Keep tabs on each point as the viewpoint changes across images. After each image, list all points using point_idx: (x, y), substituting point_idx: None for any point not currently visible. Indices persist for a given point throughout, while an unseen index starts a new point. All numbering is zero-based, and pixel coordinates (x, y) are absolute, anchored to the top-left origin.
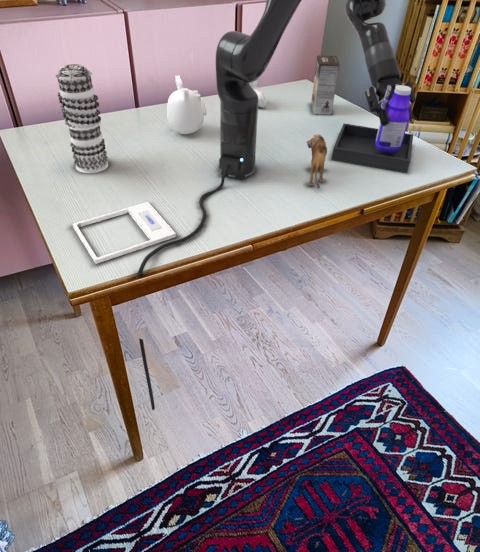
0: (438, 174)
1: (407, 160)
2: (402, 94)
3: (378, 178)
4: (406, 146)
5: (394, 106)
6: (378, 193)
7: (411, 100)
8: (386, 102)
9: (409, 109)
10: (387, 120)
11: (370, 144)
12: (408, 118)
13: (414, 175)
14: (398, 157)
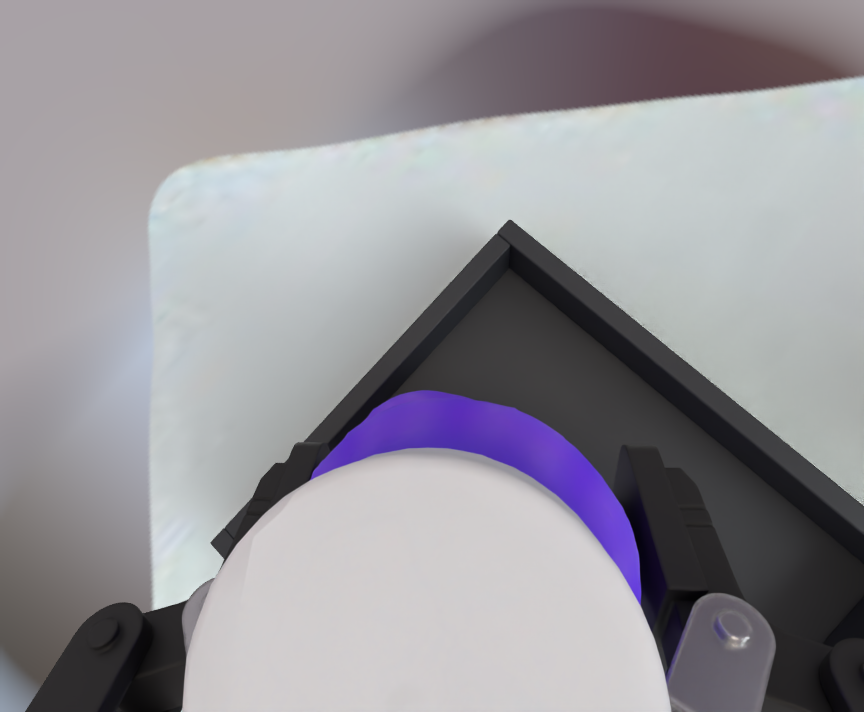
0: (349, 184)
1: (522, 230)
2: (555, 496)
3: (709, 253)
4: None
5: (613, 503)
6: (808, 118)
7: (142, 646)
8: None
9: None
10: (655, 461)
11: None
12: (392, 398)
13: (480, 215)
14: None
